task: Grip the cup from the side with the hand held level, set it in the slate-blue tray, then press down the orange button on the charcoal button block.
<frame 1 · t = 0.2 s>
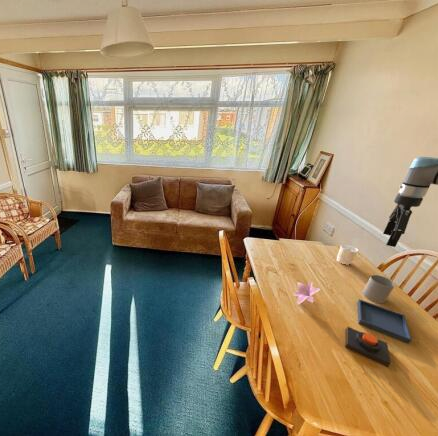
hand: (388, 239, 103), 30 cm above the table, tool pointing down, fingers open, 13 cm apart
button block: (364, 347, 88), on the table
button: (369, 339, 86), point 4 cm above the table, slide at 0.1 cm
tray: (380, 321, 99), on the table
lily: (303, 300, 111), on the table
white cup: (343, 262, 138), on the table
cup: (373, 296, 112), on the table
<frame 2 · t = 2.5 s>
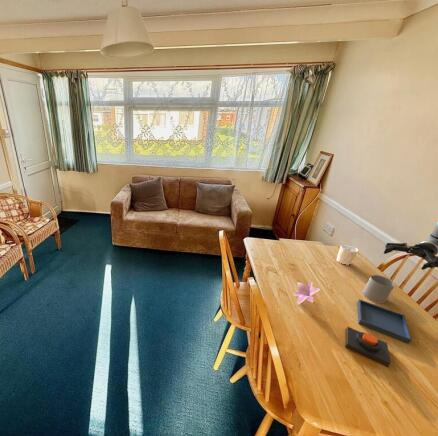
hand: (403, 258, 107), 20 cm above the table, tool horizontal, fingers open, 13 cm apart
nothing on the table moved.
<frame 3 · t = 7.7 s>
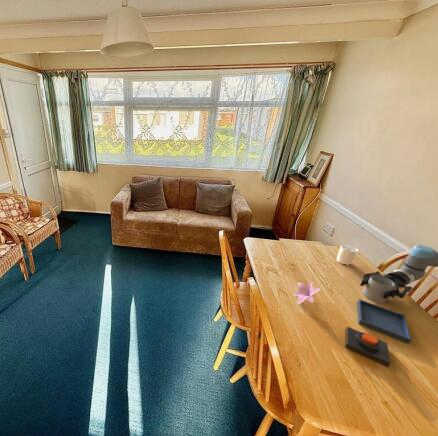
hand: (373, 289, 108), 6 cm above the table, tool horizontal, fingers closed on cup, 8 cm apart
cup: (373, 296, 112), on the table, touching gripper
everything else where it was.
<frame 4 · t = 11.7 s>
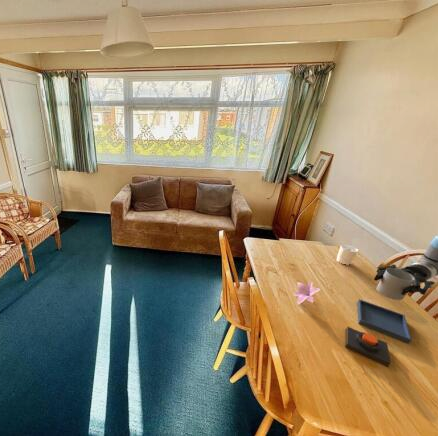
hand: (389, 284, 94), 18 cm above the table, tool horizontal, fingers closed on cup, 8 cm apart
cup: (389, 293, 98), point 12 cm above the table, touching gripper
everything else where it was.
when the fingers open (7 cm above the table, at t = 15.9 s): cup stays where it is, resting on tray.
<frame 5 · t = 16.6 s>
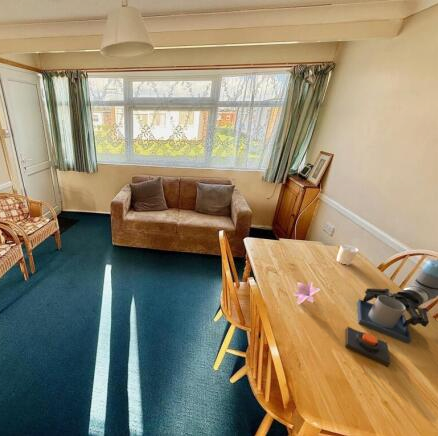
hand: (383, 311, 95), 7 cm above the table, tool horizontal, fingers open, 13 cm apart
cup: (380, 320, 99), point 1 cm above the table, touching tray
everything else where it was.
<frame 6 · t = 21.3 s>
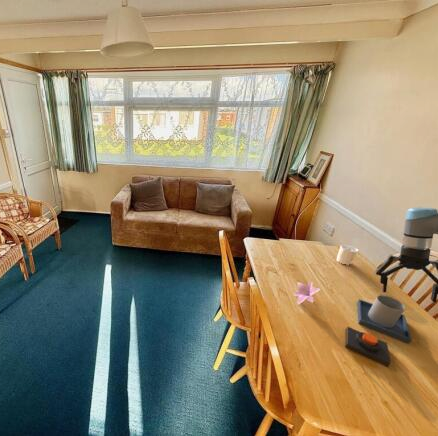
hand: (407, 295, 94), 14 cm above the table, tool pointing down, fingers open, 13 cm apart
nothing on the table moved.
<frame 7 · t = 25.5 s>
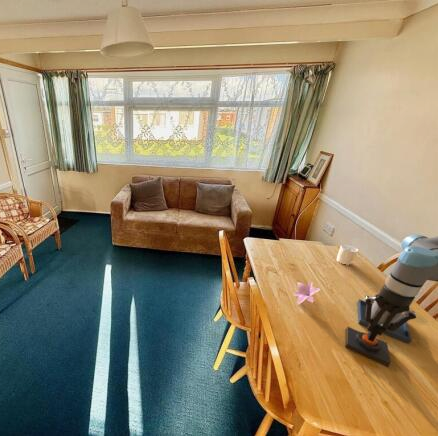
hand: (370, 337, 86), 5 cm above the table, tool pointing down, fingers closed
button: (369, 339, 86), point 4 cm above the table, slide at -0.3 cm, touching gripper
everything else where it was.
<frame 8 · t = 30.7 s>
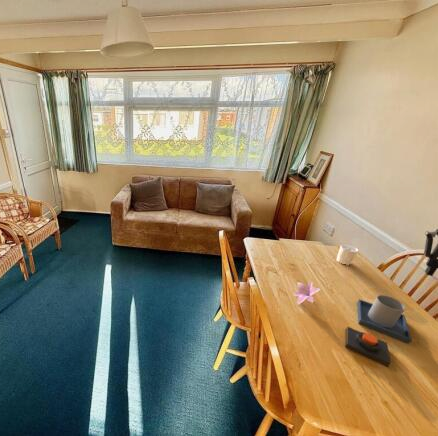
hand: (428, 273, 90), 24 cm above the table, tool pointing down, fingers closed
button: (369, 339, 86), point 4 cm above the table, slide at 0.1 cm
everything else where it was.
at the end: cup inside the target area in the tray (0.2 cm from its centre), point 0.6 cm above the tray's base; cup tilted 0°; button pushed in 1.0 cm at the most during the clip, back to where it started at the end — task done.
